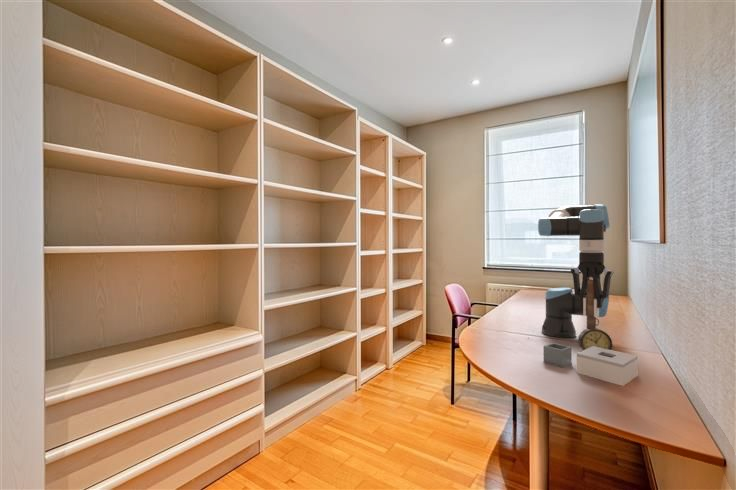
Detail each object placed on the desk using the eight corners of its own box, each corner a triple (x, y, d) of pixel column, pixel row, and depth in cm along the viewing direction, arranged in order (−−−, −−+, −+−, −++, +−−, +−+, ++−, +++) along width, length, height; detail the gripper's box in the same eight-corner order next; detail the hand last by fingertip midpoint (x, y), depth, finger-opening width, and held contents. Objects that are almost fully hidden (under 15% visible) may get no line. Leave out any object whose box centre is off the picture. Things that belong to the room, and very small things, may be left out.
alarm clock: (581, 358, 137) (581, 318, 137) (577, 354, 143) (577, 315, 142) (612, 361, 134) (613, 320, 134) (607, 356, 139) (607, 317, 139)
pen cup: (552, 358, 138) (552, 342, 138) (571, 363, 132) (571, 347, 132) (543, 361, 134) (543, 345, 134) (562, 367, 128) (562, 350, 128)
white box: (592, 364, 131) (593, 346, 131) (637, 375, 120) (637, 355, 120) (576, 372, 123) (576, 353, 123) (622, 385, 112) (623, 364, 112)
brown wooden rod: (588, 327, 127) (588, 279, 127) (597, 328, 125) (597, 279, 124) (585, 328, 125) (585, 279, 125) (594, 330, 123) (594, 280, 123)
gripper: (563, 251, 128) (563, 313, 129) (613, 252, 116) (613, 321, 116) (572, 250, 133) (572, 310, 134) (620, 252, 120) (620, 318, 121)
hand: (591, 315), depth 125 cm, fingers closed on brown wooden rod, 3 cm apart
